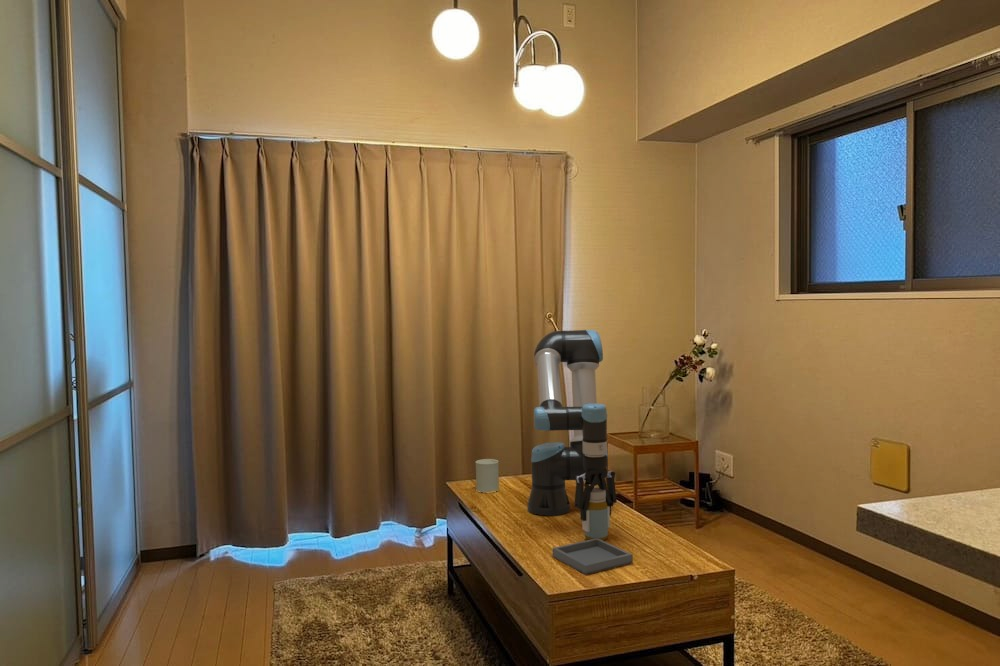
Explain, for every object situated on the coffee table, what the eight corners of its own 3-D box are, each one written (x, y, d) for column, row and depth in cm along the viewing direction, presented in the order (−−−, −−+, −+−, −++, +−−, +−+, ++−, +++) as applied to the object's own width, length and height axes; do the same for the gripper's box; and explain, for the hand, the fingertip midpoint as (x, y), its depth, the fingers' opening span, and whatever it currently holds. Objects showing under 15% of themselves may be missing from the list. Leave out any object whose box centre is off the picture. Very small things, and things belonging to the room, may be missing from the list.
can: (499, 493, 266) (498, 462, 265) (475, 493, 266) (475, 463, 265) (499, 487, 275) (498, 457, 275) (476, 487, 275) (475, 457, 274)
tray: (552, 556, 197) (552, 548, 197) (597, 546, 205) (597, 538, 204) (585, 575, 183) (585, 565, 183) (632, 563, 190) (632, 554, 190)
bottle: (593, 543, 207) (592, 494, 206) (580, 536, 213) (579, 489, 213) (612, 539, 210) (611, 491, 210) (598, 533, 216) (598, 486, 216)
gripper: (575, 460, 203) (576, 537, 203) (628, 452, 212) (629, 526, 213) (561, 456, 209) (562, 530, 210) (613, 448, 219) (614, 520, 220)
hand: (596, 528), depth 212 cm, fingers closed on bottle, 7 cm apart
